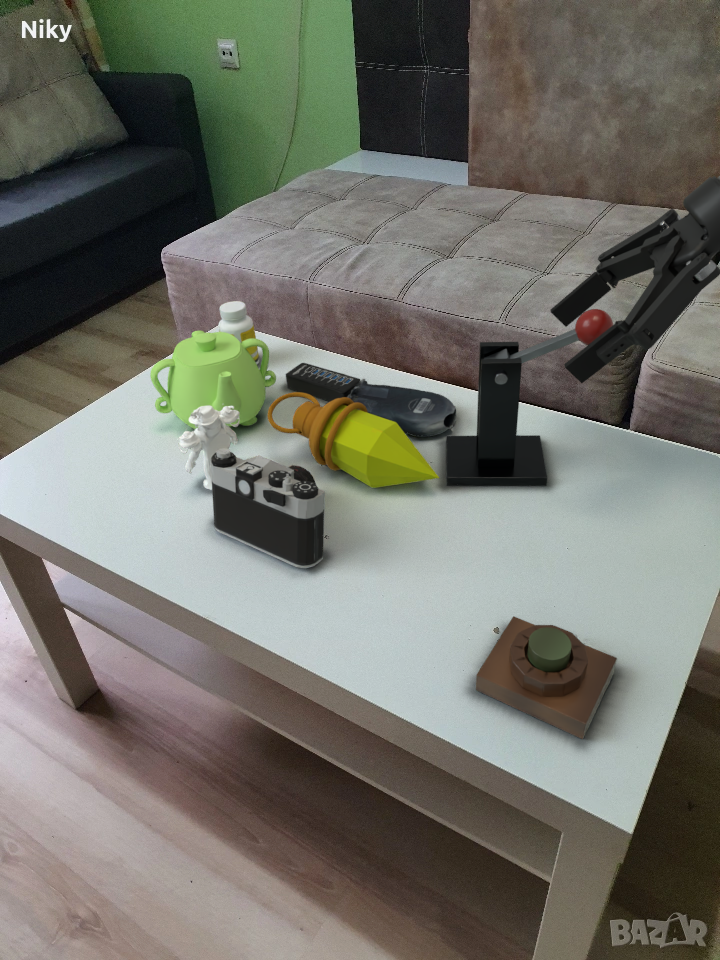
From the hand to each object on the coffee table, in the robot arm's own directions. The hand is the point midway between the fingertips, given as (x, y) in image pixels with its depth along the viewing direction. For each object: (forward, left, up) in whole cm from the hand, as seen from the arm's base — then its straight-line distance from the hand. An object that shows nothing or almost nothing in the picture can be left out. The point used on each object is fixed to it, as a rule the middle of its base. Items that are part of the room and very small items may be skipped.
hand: (564, 344), depth 84 cm
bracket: (+5, +5, -17) cm, 18 cm away
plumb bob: (+17, +18, -17) cm, 30 cm away
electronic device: (+21, +6, -17) cm, 28 cm away
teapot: (+39, +24, -17) cm, 49 cm away
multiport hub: (+35, +9, -17) cm, 40 cm away
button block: (-21, +26, -17) cm, 37 cm away
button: (-21, +26, -13) cm, 36 cm away
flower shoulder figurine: (+27, +32, -17) cm, 45 cm away
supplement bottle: (+51, +13, -17) cm, 55 cm away
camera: (+14, +31, -17) cm, 38 cm away
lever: (+1, +1, -2) cm, 2 cm away
